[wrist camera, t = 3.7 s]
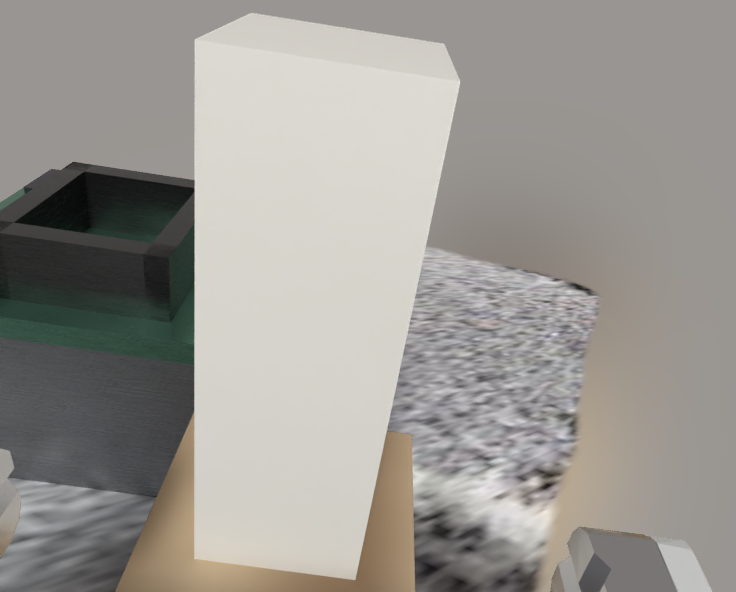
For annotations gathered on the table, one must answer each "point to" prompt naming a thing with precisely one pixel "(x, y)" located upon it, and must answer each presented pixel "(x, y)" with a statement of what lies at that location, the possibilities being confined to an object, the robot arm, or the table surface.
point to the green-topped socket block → (97, 326)
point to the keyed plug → (305, 277)
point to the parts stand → (269, 586)
